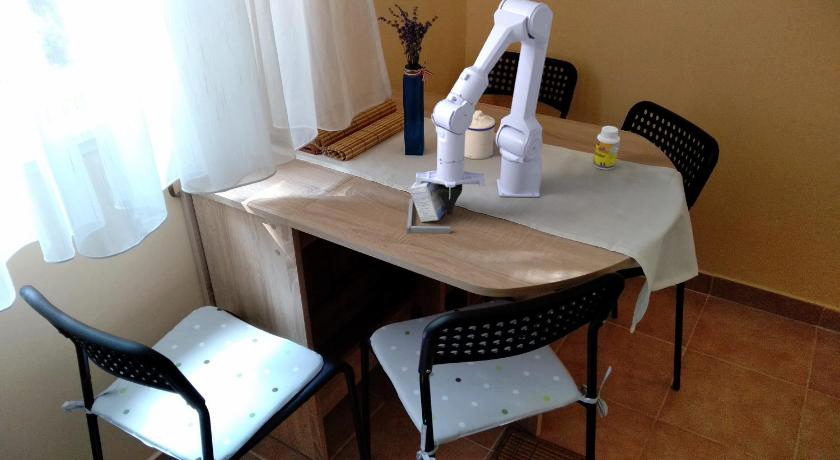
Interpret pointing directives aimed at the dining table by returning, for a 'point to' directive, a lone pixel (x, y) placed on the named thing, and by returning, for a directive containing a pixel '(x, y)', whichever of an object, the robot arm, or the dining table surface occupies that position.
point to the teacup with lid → (480, 136)
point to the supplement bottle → (606, 148)
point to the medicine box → (427, 201)
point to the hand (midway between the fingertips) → (449, 212)
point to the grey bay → (423, 228)
